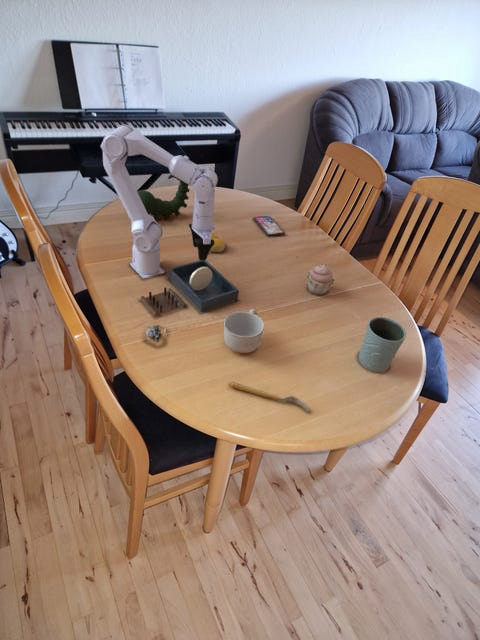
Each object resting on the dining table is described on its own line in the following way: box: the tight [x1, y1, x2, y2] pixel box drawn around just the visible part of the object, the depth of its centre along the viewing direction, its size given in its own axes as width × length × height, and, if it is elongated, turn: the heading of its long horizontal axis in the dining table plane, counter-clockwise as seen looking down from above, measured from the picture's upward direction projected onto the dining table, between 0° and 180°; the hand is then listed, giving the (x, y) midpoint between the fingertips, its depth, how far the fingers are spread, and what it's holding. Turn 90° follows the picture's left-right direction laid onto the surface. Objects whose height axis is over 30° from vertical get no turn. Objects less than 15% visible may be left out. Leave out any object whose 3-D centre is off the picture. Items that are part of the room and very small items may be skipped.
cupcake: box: [306, 263, 336, 296], centre depth 144 cm, size 9×9×10 cm
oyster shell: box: [144, 324, 168, 343], centre depth 118 cm, size 7×8×2 cm
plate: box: [189, 267, 213, 290], centre depth 135 cm, size 1×8×8 cm, turn 127°
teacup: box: [223, 308, 265, 354], centre depth 120 cm, size 14×11×8 cm
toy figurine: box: [137, 173, 190, 221], centre depth 166 cm, size 9×19×25 cm
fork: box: [230, 381, 311, 412], centre depth 107 cm, size 2×2×20 cm
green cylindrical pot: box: [358, 316, 407, 373], centre depth 119 cm, size 10×10×12 cm
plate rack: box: [140, 287, 186, 317], centre depth 129 cm, size 9×10×3 cm
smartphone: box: [253, 215, 285, 237], centre depth 178 cm, size 8×1×15 cm
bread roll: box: [209, 233, 226, 253], centre depth 159 cm, size 8×9×4 cm
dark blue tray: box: [167, 259, 240, 313], centre depth 137 cm, size 20×14×4 cm
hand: (199, 252), depth 136 cm, fingers open, 7 cm apart
